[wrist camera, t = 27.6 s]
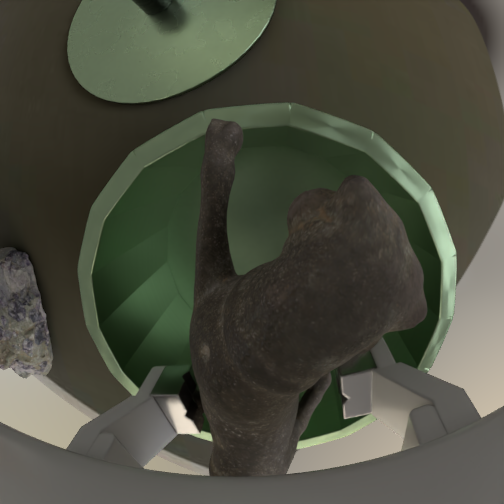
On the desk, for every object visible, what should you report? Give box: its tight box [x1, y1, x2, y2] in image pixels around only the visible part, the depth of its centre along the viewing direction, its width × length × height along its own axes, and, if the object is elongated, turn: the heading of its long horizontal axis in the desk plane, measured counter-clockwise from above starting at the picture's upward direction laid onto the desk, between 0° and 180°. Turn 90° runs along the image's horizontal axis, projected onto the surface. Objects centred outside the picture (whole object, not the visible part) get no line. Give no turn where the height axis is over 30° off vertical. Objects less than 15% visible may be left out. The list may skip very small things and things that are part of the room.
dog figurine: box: [189, 119, 427, 477], centre depth 7 cm, size 12×6×7 cm, turn 175°
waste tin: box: [77, 102, 457, 449], centre depth 15 cm, size 16×16×10 cm
